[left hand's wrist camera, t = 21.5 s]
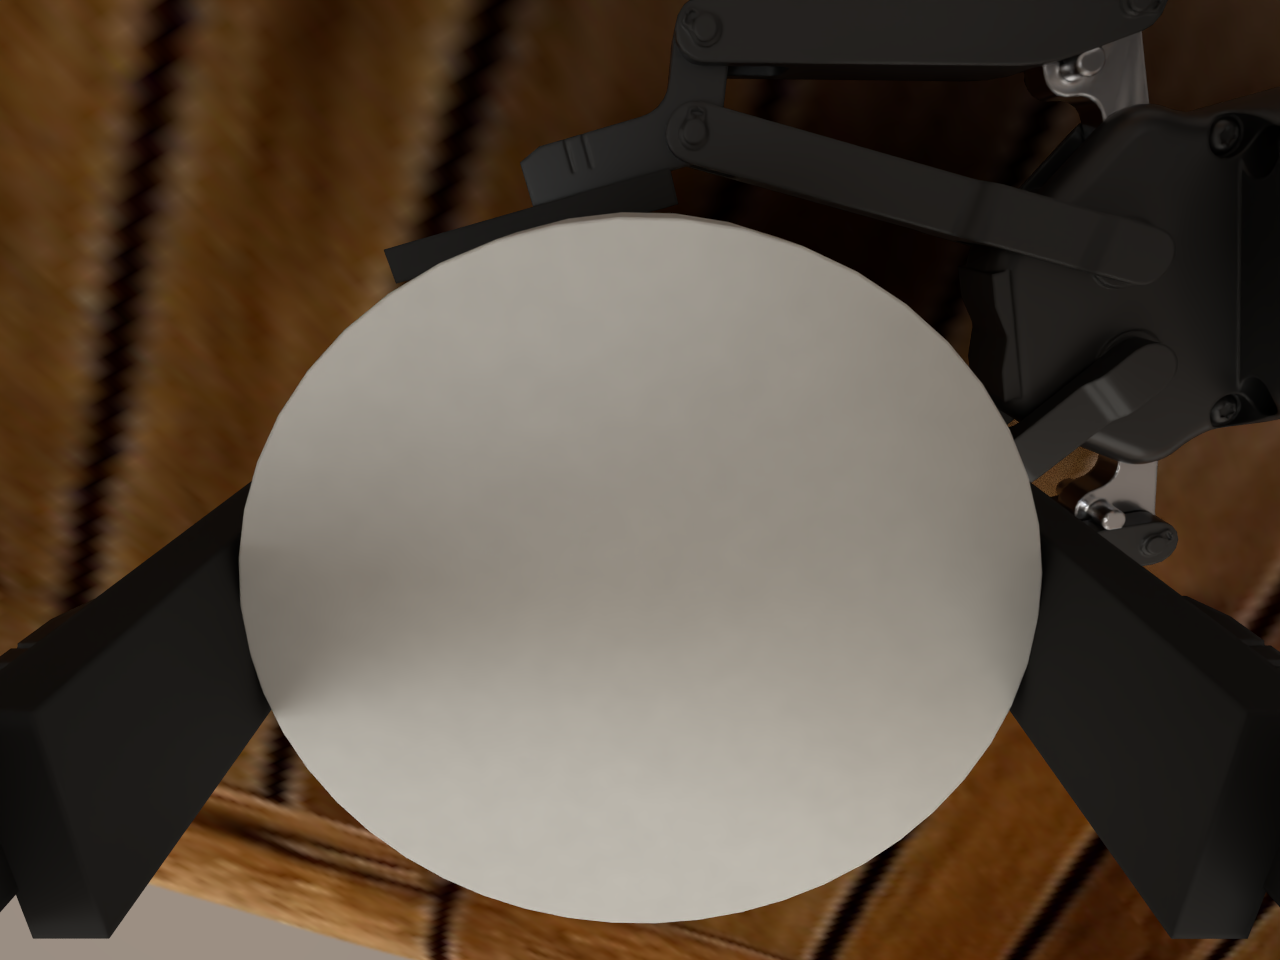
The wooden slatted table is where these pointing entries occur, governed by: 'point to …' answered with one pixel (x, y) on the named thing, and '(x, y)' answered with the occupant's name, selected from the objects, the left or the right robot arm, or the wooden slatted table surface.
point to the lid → (640, 569)
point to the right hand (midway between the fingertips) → (479, 461)
